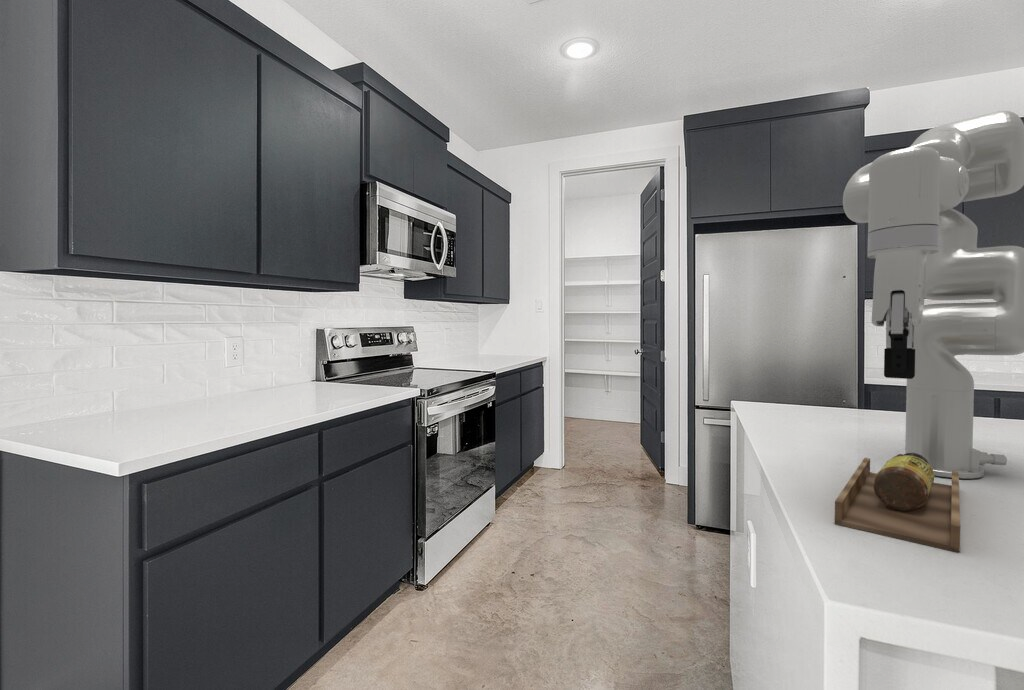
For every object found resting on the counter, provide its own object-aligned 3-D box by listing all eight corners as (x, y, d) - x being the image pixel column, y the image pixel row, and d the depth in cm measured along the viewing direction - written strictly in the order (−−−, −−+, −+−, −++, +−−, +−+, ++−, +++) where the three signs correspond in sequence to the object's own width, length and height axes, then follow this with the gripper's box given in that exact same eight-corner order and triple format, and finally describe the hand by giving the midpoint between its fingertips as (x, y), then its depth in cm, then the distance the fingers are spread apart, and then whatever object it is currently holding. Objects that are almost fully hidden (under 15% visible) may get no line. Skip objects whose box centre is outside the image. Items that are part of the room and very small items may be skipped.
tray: (864, 474, 87) (864, 457, 87) (958, 490, 79) (958, 471, 79) (834, 523, 66) (834, 501, 65) (959, 552, 57) (960, 526, 57)
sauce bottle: (912, 464, 66) (924, 437, 81) (863, 475, 71) (882, 447, 85) (938, 511, 65) (945, 475, 79) (886, 519, 69) (902, 483, 83)
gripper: (874, 253, 73) (872, 372, 73) (860, 240, 62) (857, 380, 62) (940, 247, 67) (937, 375, 68) (937, 232, 57) (933, 384, 57)
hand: (899, 377), depth 65 cm, fingers closed
